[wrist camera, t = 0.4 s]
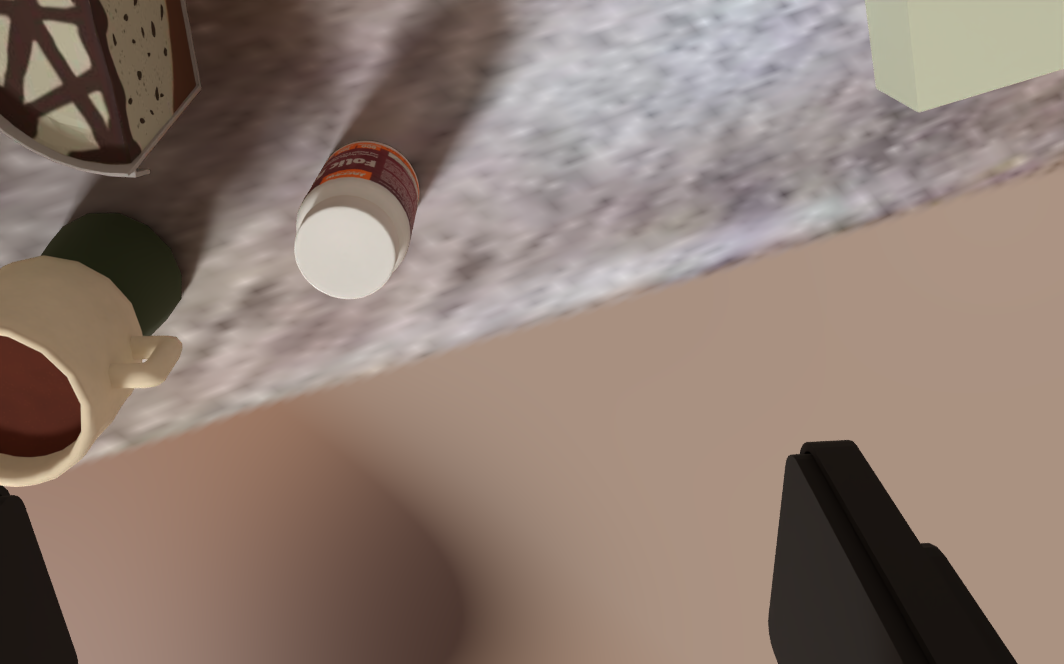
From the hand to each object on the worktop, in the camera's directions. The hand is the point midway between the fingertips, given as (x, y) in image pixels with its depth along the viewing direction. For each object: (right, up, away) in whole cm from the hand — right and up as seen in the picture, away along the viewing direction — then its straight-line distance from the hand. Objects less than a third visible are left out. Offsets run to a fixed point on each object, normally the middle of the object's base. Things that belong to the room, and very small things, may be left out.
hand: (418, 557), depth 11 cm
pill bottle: (-6, +10, +32) cm, 34 cm away
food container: (-17, +18, +28) cm, 37 cm away
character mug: (-19, +6, +34) cm, 39 cm away
